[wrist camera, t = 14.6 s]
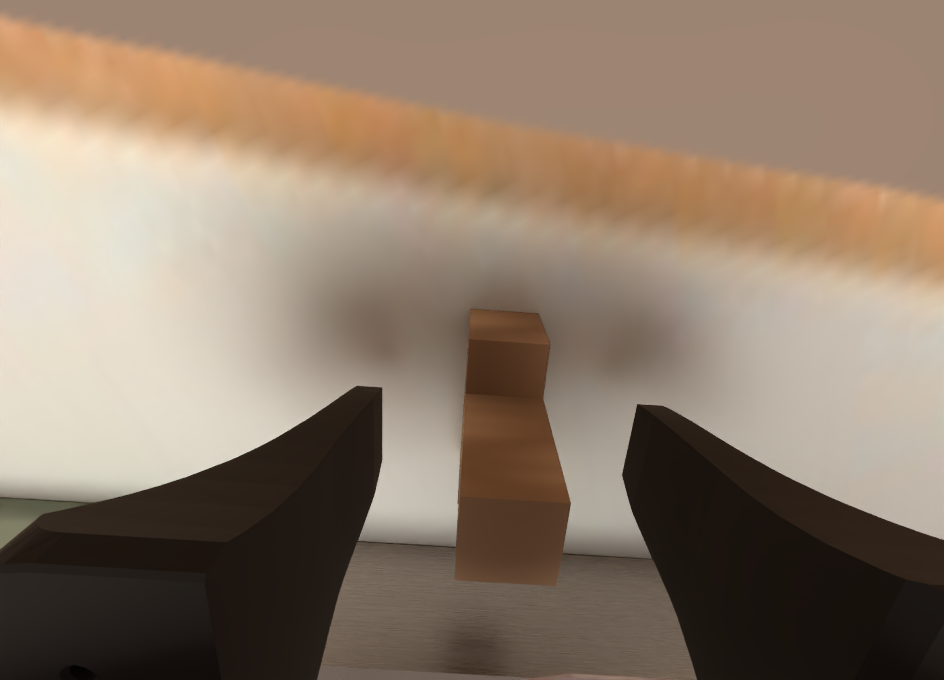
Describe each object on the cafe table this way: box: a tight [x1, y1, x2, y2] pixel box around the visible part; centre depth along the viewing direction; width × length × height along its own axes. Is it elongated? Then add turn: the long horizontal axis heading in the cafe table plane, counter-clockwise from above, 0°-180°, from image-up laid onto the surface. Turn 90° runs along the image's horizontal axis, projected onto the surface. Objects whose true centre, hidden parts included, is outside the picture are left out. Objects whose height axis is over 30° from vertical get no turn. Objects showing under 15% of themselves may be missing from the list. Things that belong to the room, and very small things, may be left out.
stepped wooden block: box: [454, 309, 571, 586], centre depth 12 cm, size 2×5×6 cm, turn 176°
